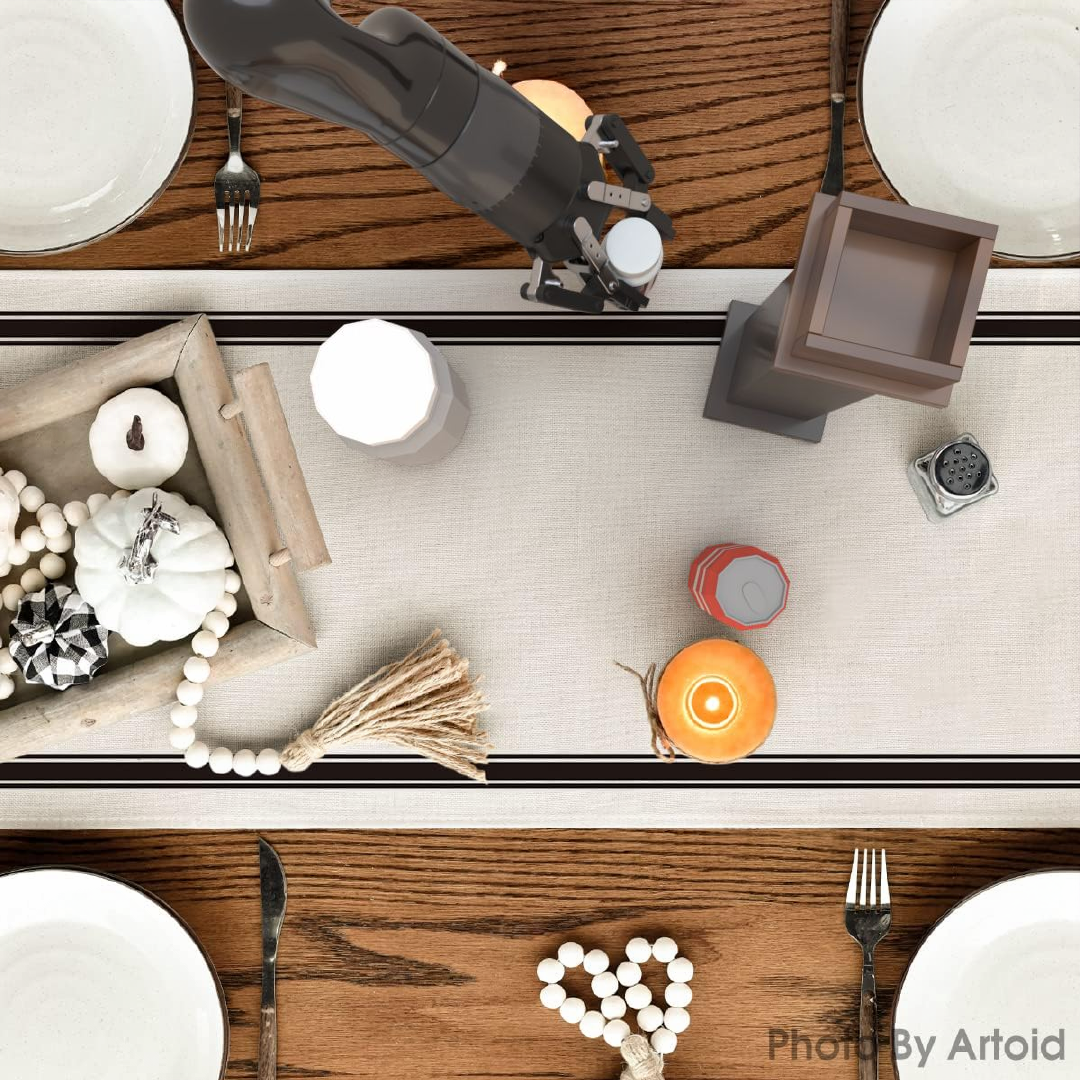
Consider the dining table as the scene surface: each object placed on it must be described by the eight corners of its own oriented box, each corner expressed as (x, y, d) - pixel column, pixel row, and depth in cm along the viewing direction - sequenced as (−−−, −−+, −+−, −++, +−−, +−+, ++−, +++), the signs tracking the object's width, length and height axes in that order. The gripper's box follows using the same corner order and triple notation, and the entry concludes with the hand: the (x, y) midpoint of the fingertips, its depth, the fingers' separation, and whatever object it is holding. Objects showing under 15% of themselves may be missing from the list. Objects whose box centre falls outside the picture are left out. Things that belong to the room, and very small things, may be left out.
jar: (491, 437, 79) (469, 414, 61) (389, 487, 80) (338, 479, 62) (441, 334, 79) (404, 281, 61) (339, 385, 80) (273, 347, 62)
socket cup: (810, 197, 53) (831, 171, 49) (983, 236, 52) (1018, 213, 48) (769, 369, 53) (785, 357, 49) (940, 409, 53) (971, 400, 49)
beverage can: (708, 628, 79) (734, 648, 67) (674, 562, 79) (693, 570, 67) (772, 596, 79) (809, 610, 67) (738, 529, 79) (768, 532, 67)
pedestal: (729, 302, 79) (810, 197, 53) (844, 328, 78) (983, 236, 52) (701, 417, 79) (769, 369, 53) (816, 444, 79) (940, 409, 53)
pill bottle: (626, 231, 74) (634, 197, 66) (668, 274, 74) (681, 245, 66) (584, 273, 75) (586, 244, 66) (625, 316, 75) (633, 292, 66)
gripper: (487, 263, 56) (654, 365, 68) (574, 37, 55) (727, 180, 67) (420, 255, 61) (585, 351, 73) (498, 49, 61) (652, 180, 73)
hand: (652, 269), depth 70 cm, fingers closed on pill bottle, 4 cm apart
